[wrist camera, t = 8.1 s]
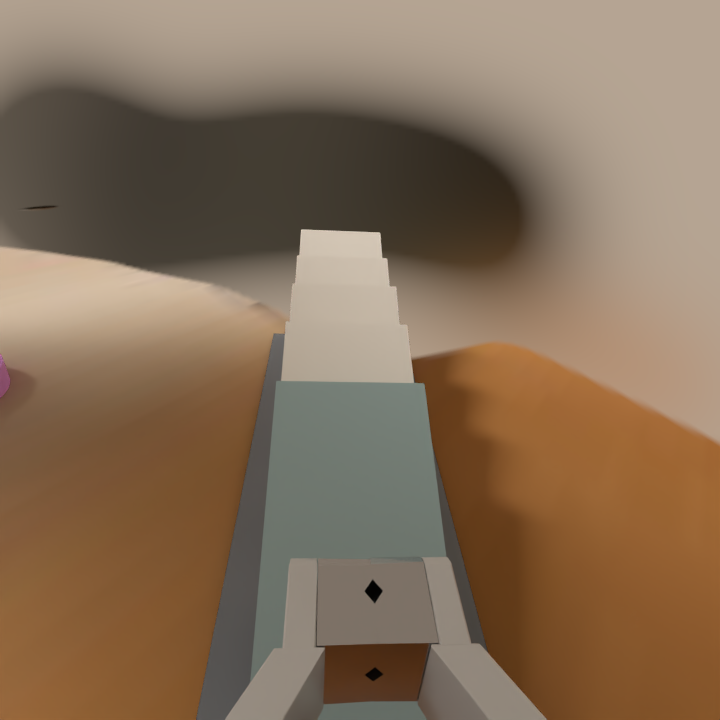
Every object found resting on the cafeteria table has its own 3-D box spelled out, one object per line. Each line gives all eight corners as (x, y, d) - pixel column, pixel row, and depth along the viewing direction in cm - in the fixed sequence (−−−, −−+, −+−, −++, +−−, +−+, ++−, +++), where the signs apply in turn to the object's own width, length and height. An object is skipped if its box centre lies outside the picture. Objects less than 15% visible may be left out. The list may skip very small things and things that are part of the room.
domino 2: (401, 411, 22) (387, 258, 28) (286, 410, 21) (297, 255, 27) (396, 429, 23) (383, 279, 29) (288, 429, 23) (298, 276, 29)
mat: (562, 955, 10) (567, 949, 10) (146, 985, 9) (143, 980, 9) (402, 342, 31) (403, 336, 31) (274, 339, 31) (273, 333, 30)
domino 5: (472, 759, 11) (424, 383, 17) (243, 768, 11) (276, 380, 17) (455, 755, 12) (416, 407, 18) (250, 763, 12) (279, 405, 18)
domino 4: (436, 582, 15) (407, 324, 21) (264, 585, 14) (286, 321, 20) (426, 594, 16) (402, 348, 22) (269, 596, 16) (287, 345, 22)
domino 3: (415, 482, 18) (396, 286, 24) (277, 482, 18) (292, 283, 24) (408, 498, 19) (392, 309, 25) (280, 498, 19) (293, 306, 25)
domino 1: (390, 357, 26) (380, 232, 32) (292, 354, 25) (301, 229, 31) (386, 374, 27) (377, 252, 33) (293, 373, 27) (301, 249, 33)
